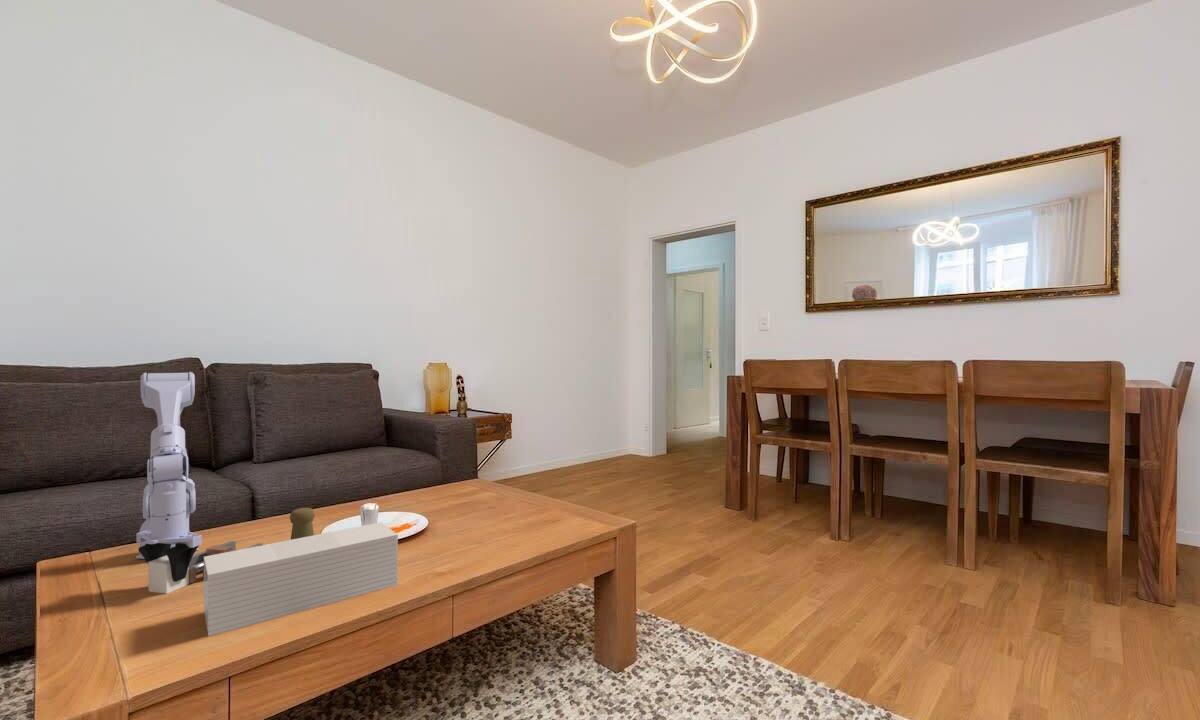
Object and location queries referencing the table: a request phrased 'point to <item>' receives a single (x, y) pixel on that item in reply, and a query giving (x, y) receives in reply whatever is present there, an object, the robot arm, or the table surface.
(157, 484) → the robot arm
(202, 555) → the track
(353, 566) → the stack of papers
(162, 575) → the block
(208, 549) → the ram
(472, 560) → the table surface
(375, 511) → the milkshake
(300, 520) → the cork
